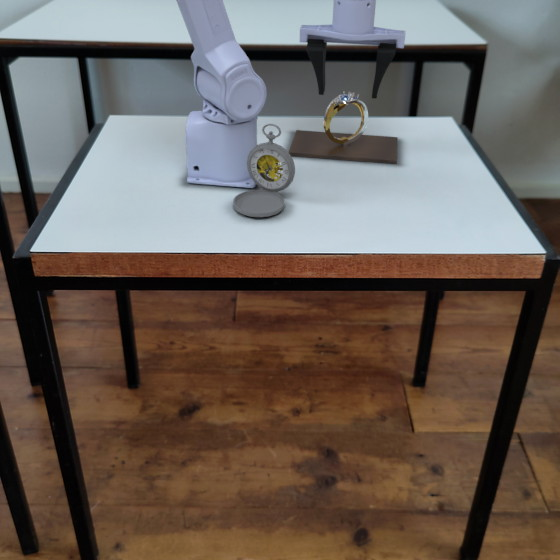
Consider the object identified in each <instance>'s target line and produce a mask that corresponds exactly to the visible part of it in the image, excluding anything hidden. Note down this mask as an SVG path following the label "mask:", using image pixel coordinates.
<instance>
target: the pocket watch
mask: <svg viewBox="0 0 560 560" xmlns="http://www.w3.org/2000/svg"><path fill="white" fill-rule="evenodd" d="M269 126H271V127H274V128H276V129H277V130H278V133H277V134H276V135H275V134H274V132H273V131H272V130H269V132H268V133H266V132H265V131H266V130H265V129H266V128H267V127H269ZM261 131H262V133H263V135H265V137H266V139H267V140H268V142H267V141H266V142H261V143H259V144H257V146H255V147H254V148H253V149H252V150H251V151H250V153H249V155H248V158H247V169H248V172H249V174H250V177H251V178H252V179H253V181H254V182H255V183H256V186H258V187H259V188H260V189H249V190H245V191H243V192H240V193H238V194H237V195H235V196H234V198H233V200H232V205H233V208H234V209H235V210H236V212H238V213H239V214H241V215H243V216H246V217H252V218H266V217H273V216H275V215H277V214H279V213H281V212H282V211H283V210H284V208H285V205H286V201H285V198H284V197H283V196H282V195H281V194H279V192H282V191H284V190H286V189H287V188H289V186H290V185H291V184H292V183H293V182H294V179H295V175H296V165H295V161H294V159H293V156H291V155H290V154H289V150H287V149H286V148H284V146H282V145H280V144H278V143H276V142H274V140H275V139H276V138H279V137H280V136H281V135H282V130H281V128H280V127H279V126H278V125H277V124H273V123H267V124H265V125H263V126H262V128H261ZM262 167H263V168H262ZM281 172H282V173H281Z"/></svg>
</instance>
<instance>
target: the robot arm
mask: <svg viewBox="0 0 560 560" xmlns="http://www.w3.org/2000/svg"><path fill="white" fill-rule="evenodd" d="M176 3H177V5H178V9H179V11H180V14H181V17H182V19H183V22H184V24H185V27H186V30H187V32H188V35H189V38H190V41H191V44H192V46H193V52H192V53H191V55H190V60H191V63H192V66H193V87H194V89H195V92H196V94H197V95H198V96H199V97H200V98H202V110H192V111H190V112H189V113H188V116H187V119H186V125H185V151H186V165H187V166H186V167H187V178H186V182H187V183H189V184H195V185H196V184H198V185H210V186H222V187H235V188H246V189H254V188H255V187H256V186H257V184H256V183H255V182H254V181H253V179H252V178H251V177H250V174H249V172H248V169H247V158H248V155H249V153H250V151H251V150H252V149H253V148H254V147H255V146H257V145H258V115H259V113H260V112H261V111H262V110H263V108H264V106H265V104H266V101H267V86H266V84H265V81H264V80H263V79H262V77H261V76H259V75H258V73H256V71H255V70H254V68H253V66H252V63H251V60H250V58H249V56H247V55H248V54H246V52H245V50H244V49H243V48H242V47H241V45H240V44H239V43H238V41H237V39H236V37H235V34H234V33H235V32H234V29H233V28H232V25H231V22H230V17H229V14H228V12H227V10H226V6H225V4H224V0H176ZM376 5H377V0H333V6H332V7H333V9H332V23H331V24H301V26H300V27H299V43H305V44H306V53H307V56H308V58H309V60H310V62H311V65H312V68H313V71H314V74H315V78H316V82H317V88H318V89H317V90H318V95H319V96H324V95H325V91H326V59H327V48H328V47H327V46H328V44H329V43H331V44H345V45H362V46H364V45H365V46H377V50H376V62H375V71H374V73H375V74H374V79H373V84H372V92H371V99H377V98H378V93H379V89H380V87H381V83H382V80H383V78H384V76H385V74H386V72H387V70H388V68H389V67H390V64H391V63H392V61H393V60H394V58H395V56H396V50H397V49H405V41H406V30H401V29H392V28H386V27H378V26H375V17H376ZM262 168H263V167H262Z"/></svg>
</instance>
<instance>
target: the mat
mask: <svg viewBox="0 0 560 560" xmlns="http://www.w3.org/2000/svg"><path fill="white" fill-rule="evenodd" d="M331 134H332V135H333V136H334V137H336V138H340V139H341V138H342V137H346V138H348V137H350V136H352V135H354V134H355V133H346V132H345V133H343V132H331ZM288 153H289V154H290V155H291V157H297V158H298V157H300V158H311V159H312V158H314V159H325V160H341V161H353V162H364V163H365V162H366V163H379V164H393V165H397V164H398V163H397V162H398V137H397V136H385V135H370V134H362V135H361V136H360V137H359V138H358V139H357V140H355V141H354V142H351V143H348V145H343V144H338V143H335V142H333V141H332V140H331V139H330V138H329V137H328V136H327V134H326V132H325V131H318V130H317V131H315V130H301V129H296V130H295V133H294V136H293V138H292V142H291V144H290V148H289V150H288Z"/></svg>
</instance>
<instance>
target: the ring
mask: <svg viewBox="0 0 560 560" xmlns="http://www.w3.org/2000/svg"><path fill="white" fill-rule="evenodd" d="M355 94H356V96H355ZM359 96H360V94H359V93H356V92H351V91H348V92H347V94H346V91H345V90H343V91H342V94H338V96H336V97H334V98H333V99H332V100H331V101H330V103H328V105H327V108H326V110H325V112H324V114H323V115H324V116H323V123H322V124H323V130H324V132H326V134H327V136H328V137H329V138H330V139H331V140H332V141H333V142H335V143H338V144H343V145H348V143H351V142H354V141H355V140H357V139H358V138H359V137H360V136H361V135H364V132H365V131H366V129H367V127H368V123H369V111H368V107H367V105H366V103H364V101H362V100H361V99H359ZM338 103H339V104H338ZM350 104H352V105H354V106H355V107H357V109H358V110H359V112H360V117H361V120H360V125H359V127H358V128H357V130H356V132H354V133H353V134H354V135H352V136H350V137H348V138H346V137H342V138H341V139H340V138H336V137H334V136H333V135H332V134H331V133H332V132H331V123H332V120H333V118H334V117H335V116H336V114H337V113H338V112H340V111H341V110H343V109H345V108H346V107H347V105H350Z"/></svg>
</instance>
